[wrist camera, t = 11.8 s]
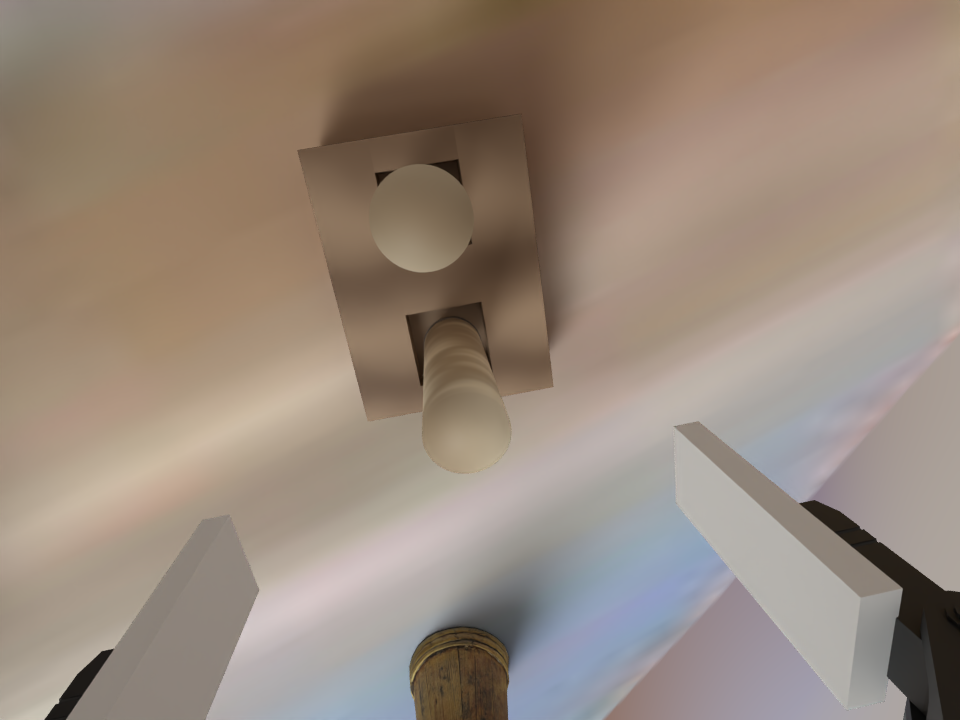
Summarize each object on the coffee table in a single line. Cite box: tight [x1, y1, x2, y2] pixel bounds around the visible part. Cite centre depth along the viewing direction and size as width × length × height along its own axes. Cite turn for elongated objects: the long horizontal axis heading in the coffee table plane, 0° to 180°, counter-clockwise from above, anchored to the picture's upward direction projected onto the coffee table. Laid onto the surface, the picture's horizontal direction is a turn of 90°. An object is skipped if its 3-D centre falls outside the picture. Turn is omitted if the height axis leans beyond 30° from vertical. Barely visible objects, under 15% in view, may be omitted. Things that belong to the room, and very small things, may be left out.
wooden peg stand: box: [297, 114, 553, 421], centre depth 25 cm, size 16×12×16 cm
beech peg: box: [422, 316, 511, 474], centre depth 25 cm, size 4×4×14 cm
